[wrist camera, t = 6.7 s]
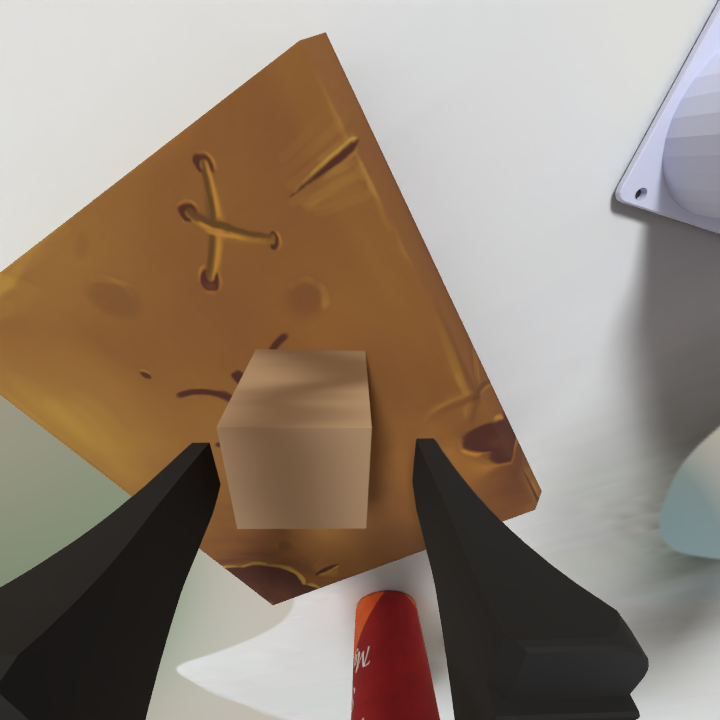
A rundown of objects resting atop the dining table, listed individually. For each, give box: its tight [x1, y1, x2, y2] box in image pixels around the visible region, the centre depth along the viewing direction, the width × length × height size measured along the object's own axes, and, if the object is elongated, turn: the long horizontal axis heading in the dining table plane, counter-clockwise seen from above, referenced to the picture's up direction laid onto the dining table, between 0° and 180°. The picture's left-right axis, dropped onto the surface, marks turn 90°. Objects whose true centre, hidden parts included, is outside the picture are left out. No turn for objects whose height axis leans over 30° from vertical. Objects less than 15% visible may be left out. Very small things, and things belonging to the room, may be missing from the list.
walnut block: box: [216, 349, 372, 529], centre depth 14 cm, size 4×4×5 cm
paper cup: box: [351, 591, 440, 720], centre depth 27 cm, size 8×8×14 cm
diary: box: [0, 33, 541, 605], centre depth 19 cm, size 23×19×6 cm
